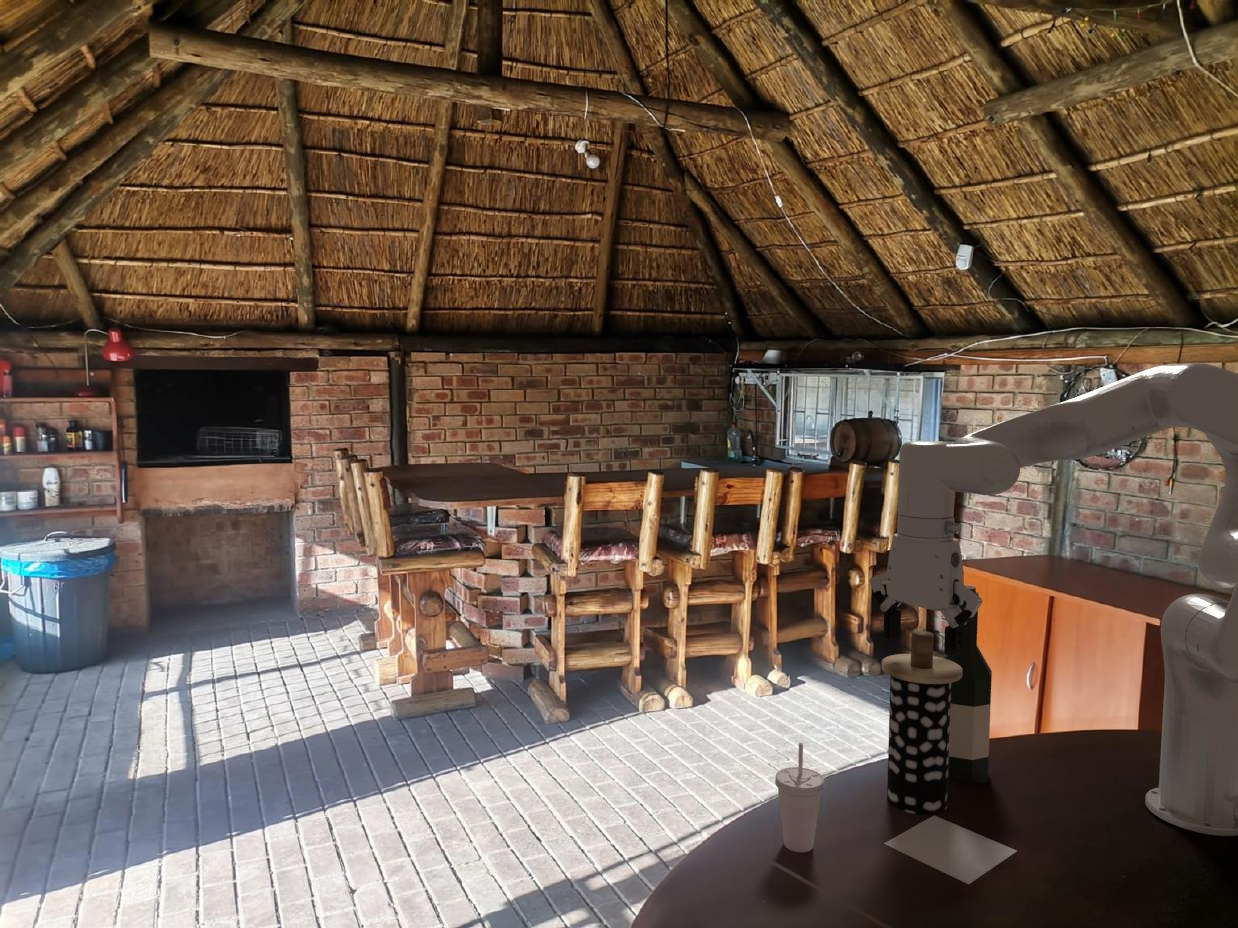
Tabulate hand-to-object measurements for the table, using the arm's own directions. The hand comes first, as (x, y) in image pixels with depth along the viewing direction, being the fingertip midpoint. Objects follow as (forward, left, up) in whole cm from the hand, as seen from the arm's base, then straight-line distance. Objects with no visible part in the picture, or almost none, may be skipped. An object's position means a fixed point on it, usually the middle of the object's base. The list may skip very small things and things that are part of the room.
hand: (921, 644), depth 124 cm
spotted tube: (0, 0, -24) cm, 24 cm away
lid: (0, 0, -4) cm, 4 cm away
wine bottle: (+1, -14, -24) cm, 28 cm away
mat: (-10, +8, -24) cm, 27 cm away
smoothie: (+3, +23, -24) cm, 33 cm away
